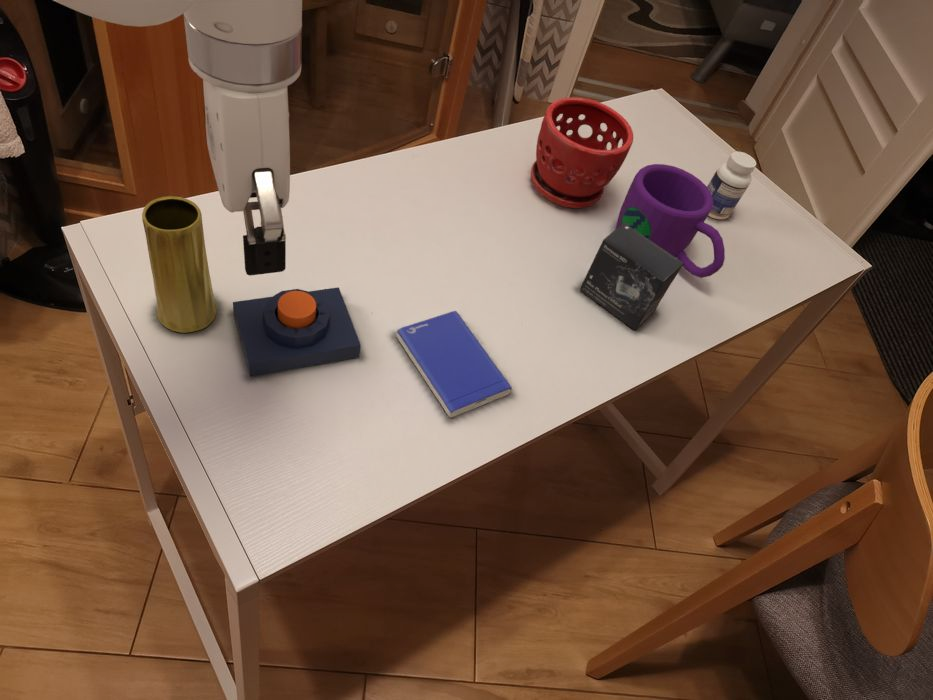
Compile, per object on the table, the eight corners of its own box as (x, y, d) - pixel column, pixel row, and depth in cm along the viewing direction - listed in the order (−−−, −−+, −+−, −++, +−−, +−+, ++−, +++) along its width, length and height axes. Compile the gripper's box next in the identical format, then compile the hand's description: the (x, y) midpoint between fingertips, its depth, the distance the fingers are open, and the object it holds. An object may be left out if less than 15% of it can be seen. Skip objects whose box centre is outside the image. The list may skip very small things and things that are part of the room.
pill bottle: (699, 194, 112) (728, 143, 105) (730, 206, 112) (762, 157, 105) (695, 212, 109) (725, 161, 101) (727, 225, 108) (759, 174, 101)
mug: (594, 227, 101) (619, 172, 93) (645, 209, 106) (673, 155, 99) (676, 307, 93) (711, 253, 86) (727, 283, 99) (764, 230, 91)
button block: (249, 377, 72) (248, 353, 69) (233, 314, 77) (231, 290, 74) (359, 357, 77) (362, 334, 74) (337, 299, 82) (339, 276, 79)
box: (577, 291, 91) (602, 237, 84) (599, 272, 95) (624, 220, 87) (633, 332, 89) (664, 281, 81) (654, 312, 92) (685, 261, 85)
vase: (225, 323, 76) (215, 225, 65) (169, 340, 73) (149, 241, 62) (204, 286, 79) (191, 187, 68) (149, 302, 76) (127, 200, 65)
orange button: (282, 331, 72) (282, 320, 71) (274, 304, 75) (274, 293, 73) (319, 325, 74) (320, 315, 73) (310, 299, 76) (311, 288, 75)
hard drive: (397, 328, 79) (451, 410, 73) (456, 309, 82) (513, 386, 77) (395, 337, 80) (448, 419, 74) (454, 317, 84) (509, 394, 78)
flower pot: (507, 172, 105) (528, 102, 96) (571, 157, 111) (596, 90, 102) (557, 226, 99) (584, 157, 90) (622, 207, 106) (653, 141, 96)
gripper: (170, -19, 50) (193, 173, 63) (207, 118, 41) (226, 310, 54) (274, -16, 53) (276, 168, 66) (331, 114, 44) (321, 297, 56)
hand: (254, 232), depth 60 cm, fingers open, 9 cm apart
